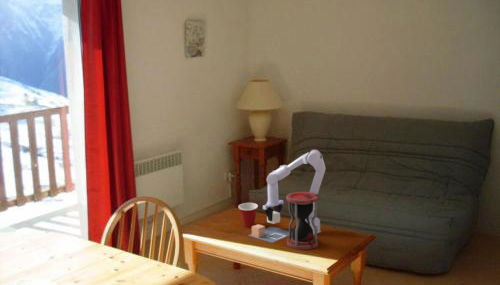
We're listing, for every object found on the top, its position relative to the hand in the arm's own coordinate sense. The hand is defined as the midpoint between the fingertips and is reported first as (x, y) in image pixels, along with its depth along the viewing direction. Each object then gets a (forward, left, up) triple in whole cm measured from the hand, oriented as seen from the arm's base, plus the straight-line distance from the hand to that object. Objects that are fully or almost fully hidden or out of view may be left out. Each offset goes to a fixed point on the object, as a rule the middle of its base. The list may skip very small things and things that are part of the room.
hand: (273, 219), depth 301 cm
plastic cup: (+15, +4, -6) cm, 17 cm away
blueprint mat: (-4, +6, -6) cm, 9 cm away
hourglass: (-25, +6, -6) cm, 26 cm away
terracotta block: (0, +12, -6) cm, 13 cm away
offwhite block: (0, 0, -1) cm, 1 cm away
